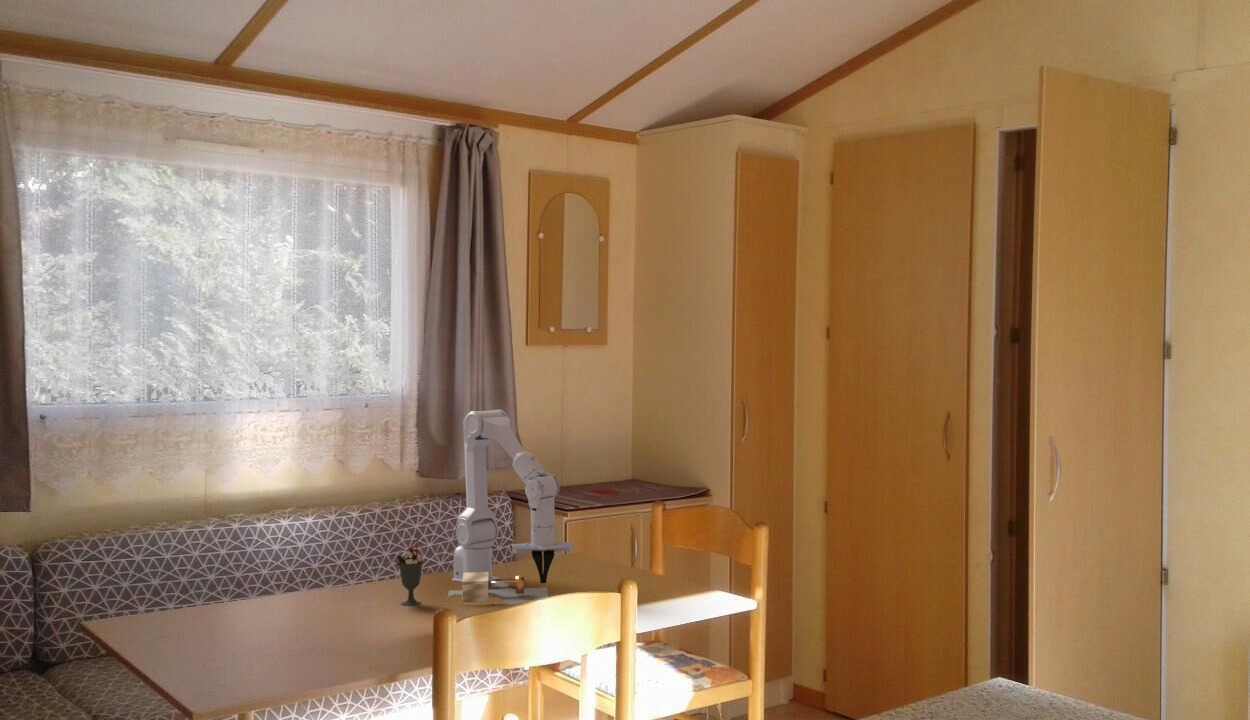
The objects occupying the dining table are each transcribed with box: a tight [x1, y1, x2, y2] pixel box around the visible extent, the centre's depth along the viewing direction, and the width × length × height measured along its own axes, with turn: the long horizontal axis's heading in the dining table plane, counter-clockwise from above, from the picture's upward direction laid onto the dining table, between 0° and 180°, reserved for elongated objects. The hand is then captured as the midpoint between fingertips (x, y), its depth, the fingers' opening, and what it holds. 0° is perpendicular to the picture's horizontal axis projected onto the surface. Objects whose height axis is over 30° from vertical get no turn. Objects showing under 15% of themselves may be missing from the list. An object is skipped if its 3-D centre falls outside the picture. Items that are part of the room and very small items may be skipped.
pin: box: [488, 574, 525, 594], centre depth 270 cm, size 10×4×4 cm, turn 96°
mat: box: [445, 587, 549, 608], centre depth 270 cm, size 24×16×1 cm, turn 96°
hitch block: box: [461, 572, 489, 602], centre depth 269 cm, size 6×10×5 cm, turn 6°
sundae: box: [395, 539, 426, 607], centre depth 264 cm, size 7×7×15 cm
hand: (543, 582), depth 271 cm, fingers closed
